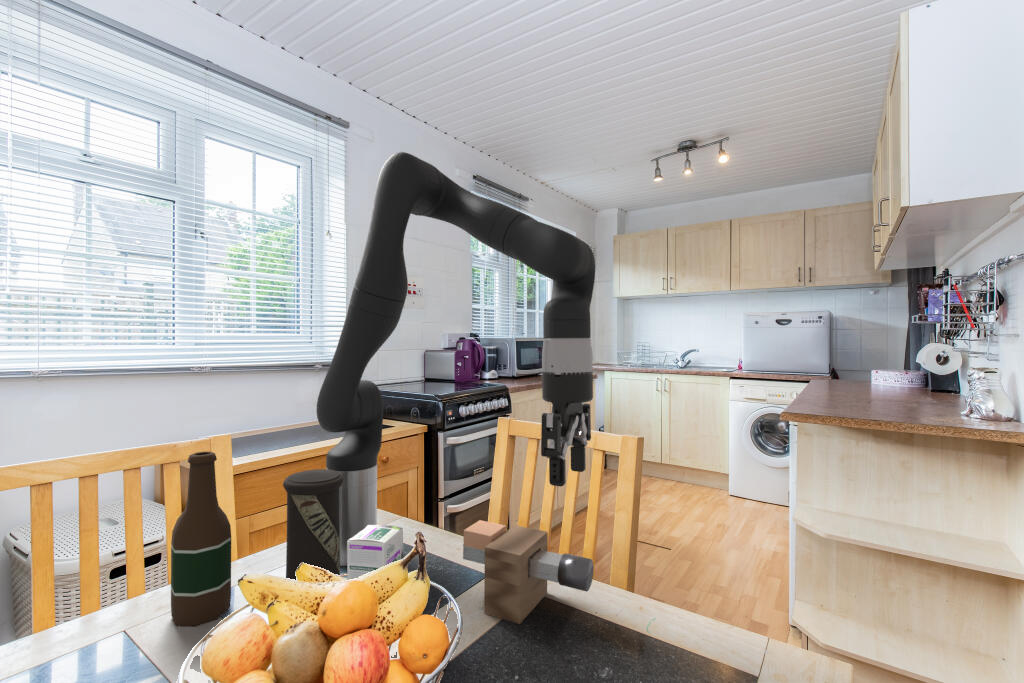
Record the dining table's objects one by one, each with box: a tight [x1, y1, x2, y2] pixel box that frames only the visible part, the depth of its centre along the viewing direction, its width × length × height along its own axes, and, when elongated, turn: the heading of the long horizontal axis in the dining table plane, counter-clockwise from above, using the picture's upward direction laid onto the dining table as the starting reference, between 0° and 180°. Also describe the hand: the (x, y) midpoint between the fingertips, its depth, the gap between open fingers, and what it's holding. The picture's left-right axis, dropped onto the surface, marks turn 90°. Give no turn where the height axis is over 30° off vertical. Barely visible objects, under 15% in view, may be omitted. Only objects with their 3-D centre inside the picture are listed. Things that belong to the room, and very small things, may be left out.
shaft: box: [462, 543, 594, 592], centre depth 76 cm, size 20×4×4 cm, turn 63°
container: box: [282, 468, 343, 580], centre depth 78 cm, size 9×9×20 cm
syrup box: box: [346, 524, 404, 580], centre depth 68 cm, size 6×6×14 cm
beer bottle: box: [170, 451, 232, 628], centre depth 73 cm, size 8×8×24 cm
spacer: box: [463, 519, 507, 551], centre depth 80 cm, size 5×5×2 cm
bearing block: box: [483, 524, 549, 625], centre depth 77 cm, size 6×10×10 cm, turn 153°
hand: (568, 477), depth 73 cm, fingers open, 8 cm apart
